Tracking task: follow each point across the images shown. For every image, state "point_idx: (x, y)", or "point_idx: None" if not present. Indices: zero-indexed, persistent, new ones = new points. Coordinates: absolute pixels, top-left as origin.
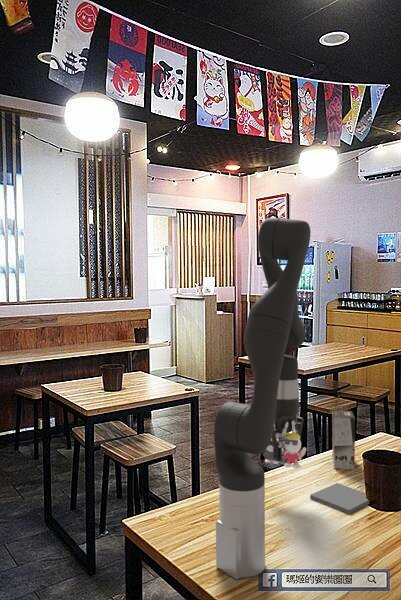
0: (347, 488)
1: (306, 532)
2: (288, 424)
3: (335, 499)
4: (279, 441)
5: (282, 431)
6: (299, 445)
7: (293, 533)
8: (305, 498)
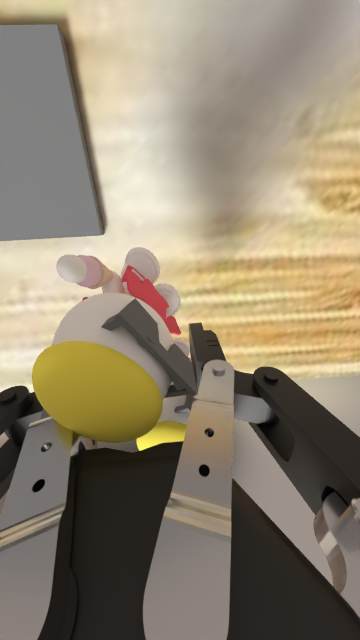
0: None
1: (287, 56)
2: (93, 573)
3: (47, 147)
4: (232, 391)
5: (231, 470)
6: (101, 299)
7: (317, 88)
8: (115, 243)
